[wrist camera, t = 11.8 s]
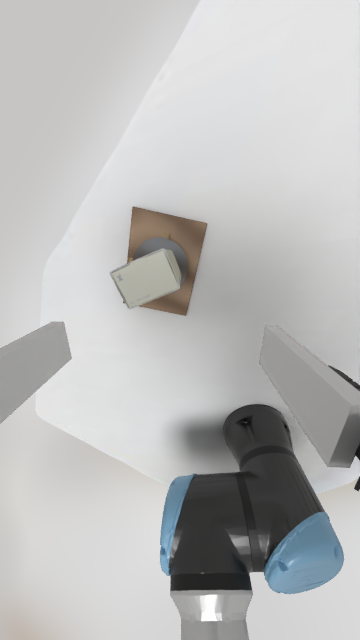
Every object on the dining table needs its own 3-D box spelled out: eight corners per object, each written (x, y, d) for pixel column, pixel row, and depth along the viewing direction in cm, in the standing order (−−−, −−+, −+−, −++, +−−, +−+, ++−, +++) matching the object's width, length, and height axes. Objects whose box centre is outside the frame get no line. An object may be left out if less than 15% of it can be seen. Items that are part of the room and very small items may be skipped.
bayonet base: (185, 313, 37) (185, 320, 33) (125, 301, 36) (118, 306, 33) (206, 224, 31) (208, 221, 27) (134, 208, 30) (127, 203, 27)
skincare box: (148, 288, 31) (127, 312, 20) (136, 263, 30) (106, 272, 19) (183, 274, 30) (181, 290, 19) (172, 247, 29) (163, 246, 18)
